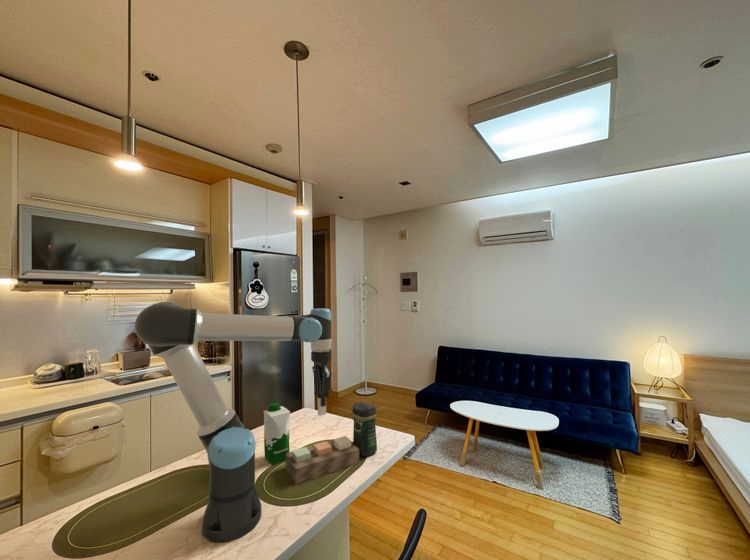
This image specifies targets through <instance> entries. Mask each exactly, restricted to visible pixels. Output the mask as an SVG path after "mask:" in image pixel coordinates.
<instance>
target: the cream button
mask: <svg viewBox="0 0 750 560" xmlns="http://www.w3.org/2000/svg"><path fill="white" fill-rule="evenodd" d="M333 440H334V446H335V447H336V448H337V449H338V450H342V449H345V448H349V447H351V442H352V440H351V439H350V438H348V437H347V436H346V435H344V436H340V437H336V438H333Z"/></svg>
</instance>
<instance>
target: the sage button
mask: <svg viewBox="0 0 750 560" xmlns="http://www.w3.org/2000/svg"><path fill="white" fill-rule="evenodd" d="M291 452H292V458H293V460H294V461H295V462H296V463H299V462H303V461H306V460H309V459H311V453H310V451H309V450H308V449H307V446H304V447H301V448H298V449H297V448H296V449H294V450H292V451H291Z"/></svg>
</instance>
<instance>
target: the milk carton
mask: <svg viewBox="0 0 750 560" xmlns="http://www.w3.org/2000/svg"><path fill="white" fill-rule="evenodd" d="M290 416H291V411H290V410H288V409H287V407H284V406H283V405H281V404H280V402H272V403H270V404H269V406H268V409H266V410H263V424H264V425H263V433H264V434H263V435H264V436H263V437H264V439H263V442H264V443H263V444H264V445H263V447H264V450H263V451H264V459H265V460H266V461H268V463H269V464H270V465H271V466H274V465H277V464H279V463H282V462H284V461H285V462H286V453H289V452H290Z"/></svg>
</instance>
